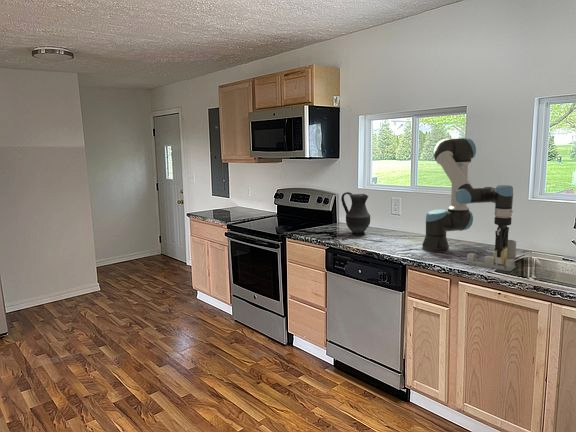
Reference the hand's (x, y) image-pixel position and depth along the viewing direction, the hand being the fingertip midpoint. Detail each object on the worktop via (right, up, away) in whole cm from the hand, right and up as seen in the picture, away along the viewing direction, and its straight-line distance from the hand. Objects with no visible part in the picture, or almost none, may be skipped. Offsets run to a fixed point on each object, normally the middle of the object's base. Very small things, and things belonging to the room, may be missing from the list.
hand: (500, 261), depth 212 cm
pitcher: (-59, +10, +87) cm, 105 cm away
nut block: (0, 0, 0) cm, 0 cm away
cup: (+12, 0, +17) cm, 21 cm away
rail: (-4, -2, +4) cm, 6 cm away
